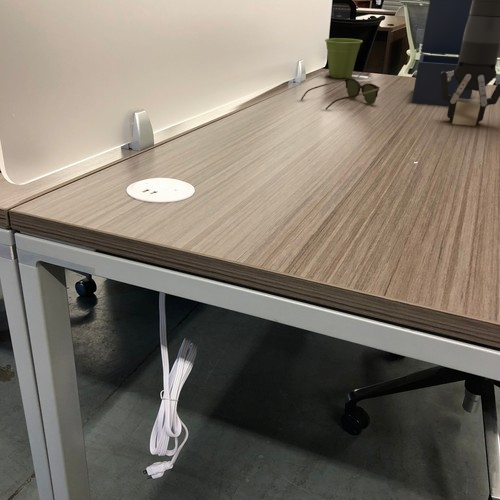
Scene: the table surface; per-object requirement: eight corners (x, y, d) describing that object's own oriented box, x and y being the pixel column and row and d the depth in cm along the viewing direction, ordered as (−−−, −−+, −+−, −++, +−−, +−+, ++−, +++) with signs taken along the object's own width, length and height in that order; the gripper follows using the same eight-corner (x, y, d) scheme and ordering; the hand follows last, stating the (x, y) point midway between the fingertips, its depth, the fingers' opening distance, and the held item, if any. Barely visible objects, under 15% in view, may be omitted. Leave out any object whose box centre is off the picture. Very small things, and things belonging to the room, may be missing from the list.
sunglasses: (378, 106, 126) (380, 85, 124) (328, 116, 121) (329, 94, 118) (344, 95, 138) (345, 76, 135) (297, 103, 132) (297, 84, 130)
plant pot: (321, 73, 171) (324, 37, 165) (356, 75, 170) (360, 38, 164) (322, 79, 160) (325, 41, 155) (359, 81, 159) (364, 42, 154)
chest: (468, 107, 128) (478, 66, 123) (411, 102, 132) (418, 62, 127) (465, 95, 143) (473, 57, 138) (414, 90, 147) (420, 54, 142)
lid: (491, -22, 128) (489, -23, 133) (433, -24, 132) (434, -25, 137) (473, 56, 138) (472, 52, 143) (420, 52, 142) (421, 49, 146)
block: (474, 121, 115) (479, 99, 112) (475, 126, 111) (480, 104, 108) (451, 119, 116) (456, 98, 114) (452, 124, 112) (457, 102, 110)
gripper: (446, 39, 104) (430, 122, 112) (522, 43, 100) (500, 128, 108) (445, 36, 110) (430, 114, 118) (517, 40, 106) (496, 121, 114)
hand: (463, 121), depth 113 cm, fingers closed on block, 4 cm apart
